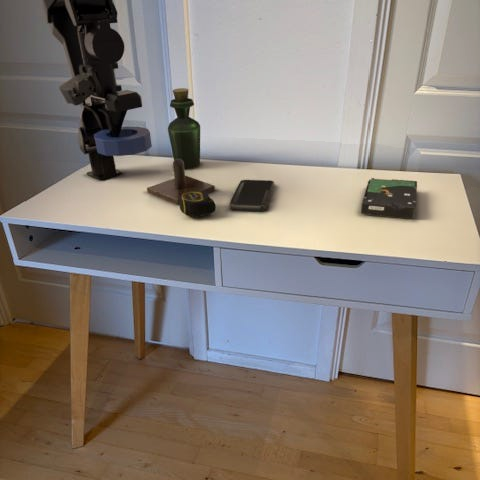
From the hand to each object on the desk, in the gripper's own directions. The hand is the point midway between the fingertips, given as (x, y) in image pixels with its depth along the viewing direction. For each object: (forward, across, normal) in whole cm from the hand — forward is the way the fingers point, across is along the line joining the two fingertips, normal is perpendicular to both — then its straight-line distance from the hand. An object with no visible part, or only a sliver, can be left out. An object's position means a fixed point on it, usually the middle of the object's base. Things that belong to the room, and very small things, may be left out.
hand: (112, 139), depth 106 cm
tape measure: (+12, +22, +5) cm, 25 cm away
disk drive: (+12, +48, +35) cm, 60 cm away
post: (+12, +10, +10) cm, 18 cm away
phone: (+12, +24, +18) cm, 33 cm away
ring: (+1, +4, 0) cm, 5 cm away
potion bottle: (+12, -4, +22) cm, 26 cm away
